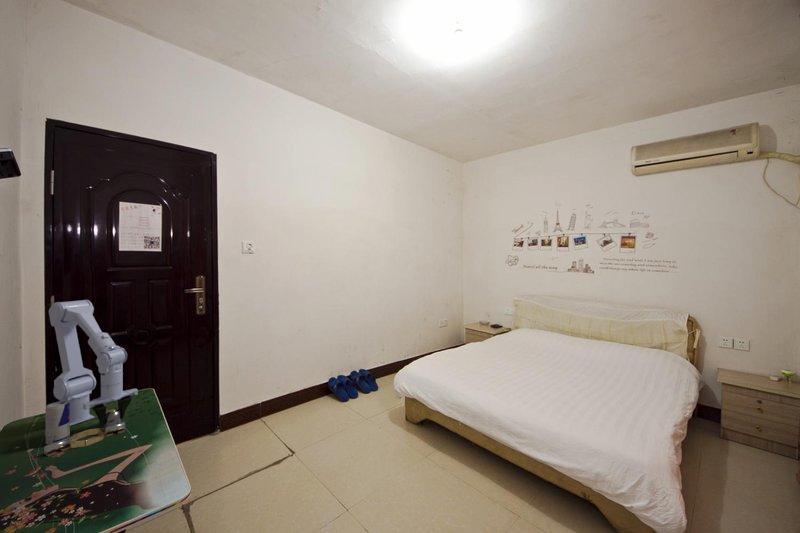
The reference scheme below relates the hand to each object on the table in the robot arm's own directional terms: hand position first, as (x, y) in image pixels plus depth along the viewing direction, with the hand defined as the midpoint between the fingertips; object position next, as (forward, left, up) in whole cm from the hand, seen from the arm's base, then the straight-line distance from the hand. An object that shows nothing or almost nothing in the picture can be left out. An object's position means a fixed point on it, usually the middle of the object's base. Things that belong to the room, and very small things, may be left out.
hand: (112, 421), depth 111 cm
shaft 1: (+4, -15, -1) cm, 16 cm away
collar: (+4, -8, -1) cm, 9 cm away
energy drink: (-4, -13, -2) cm, 13 cm away
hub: (0, 0, -1) cm, 1 cm away
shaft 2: (+7, -2, -1) cm, 7 cm away
